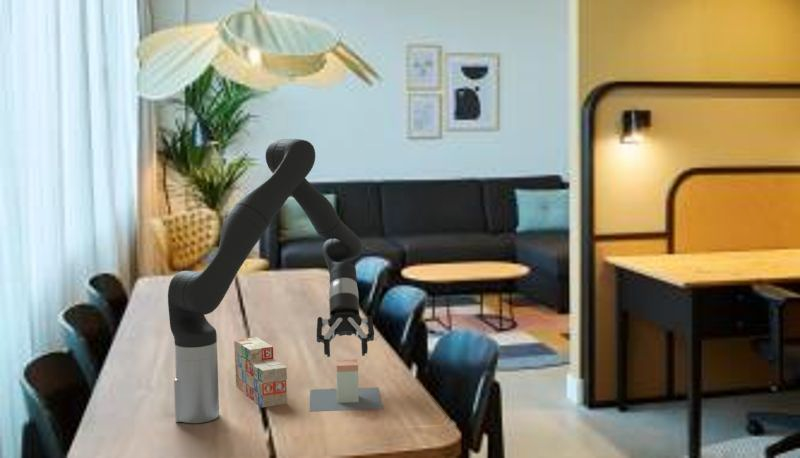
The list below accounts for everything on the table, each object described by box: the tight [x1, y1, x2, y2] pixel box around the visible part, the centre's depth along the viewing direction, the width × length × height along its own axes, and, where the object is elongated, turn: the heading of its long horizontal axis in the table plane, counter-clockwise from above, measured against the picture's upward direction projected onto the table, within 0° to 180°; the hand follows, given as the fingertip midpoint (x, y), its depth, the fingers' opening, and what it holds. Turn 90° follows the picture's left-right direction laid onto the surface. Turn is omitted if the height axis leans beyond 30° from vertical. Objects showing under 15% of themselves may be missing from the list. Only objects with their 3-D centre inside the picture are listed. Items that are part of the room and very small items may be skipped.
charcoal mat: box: [309, 386, 384, 413], centre depth 203 cm, size 17×17×1 cm
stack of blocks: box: [233, 336, 288, 409], centre depth 207 cm, size 21×6×12 cm, turn 28°
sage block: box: [335, 359, 359, 403], centre depth 202 cm, size 5×5×9 cm
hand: (346, 354), depth 206 cm, fingers open, 8 cm apart
